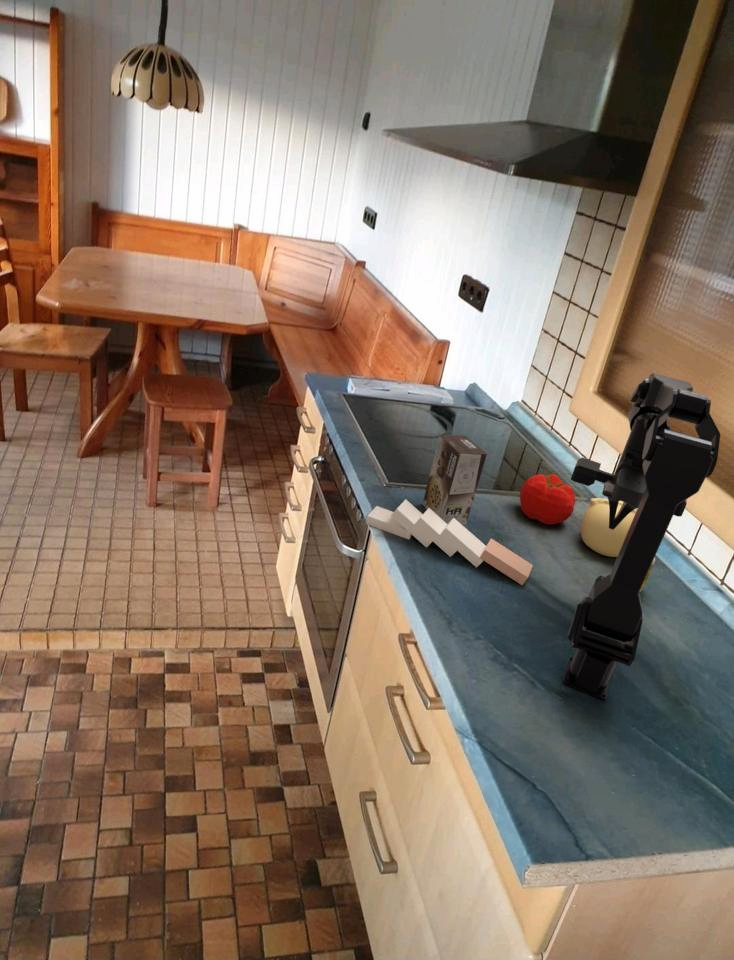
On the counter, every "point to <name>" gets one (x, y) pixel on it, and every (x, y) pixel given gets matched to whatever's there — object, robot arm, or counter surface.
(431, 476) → the coffee box
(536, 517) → the tomato
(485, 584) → the counter surface
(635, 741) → the counter surface
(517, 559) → the domino
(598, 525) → the pale yellow round lump
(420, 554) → the counter surface
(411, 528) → the domino
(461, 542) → the domino
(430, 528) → the domino
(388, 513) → the domino
